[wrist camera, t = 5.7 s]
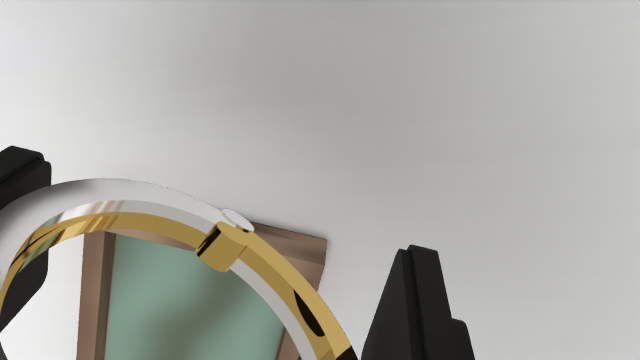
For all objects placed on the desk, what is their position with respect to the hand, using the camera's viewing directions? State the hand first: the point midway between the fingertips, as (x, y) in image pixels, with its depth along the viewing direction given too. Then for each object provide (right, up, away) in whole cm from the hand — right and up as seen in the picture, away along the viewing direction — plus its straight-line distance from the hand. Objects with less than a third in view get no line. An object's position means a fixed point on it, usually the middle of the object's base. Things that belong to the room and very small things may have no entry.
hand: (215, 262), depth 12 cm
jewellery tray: (-5, -6, +21) cm, 23 cm away
